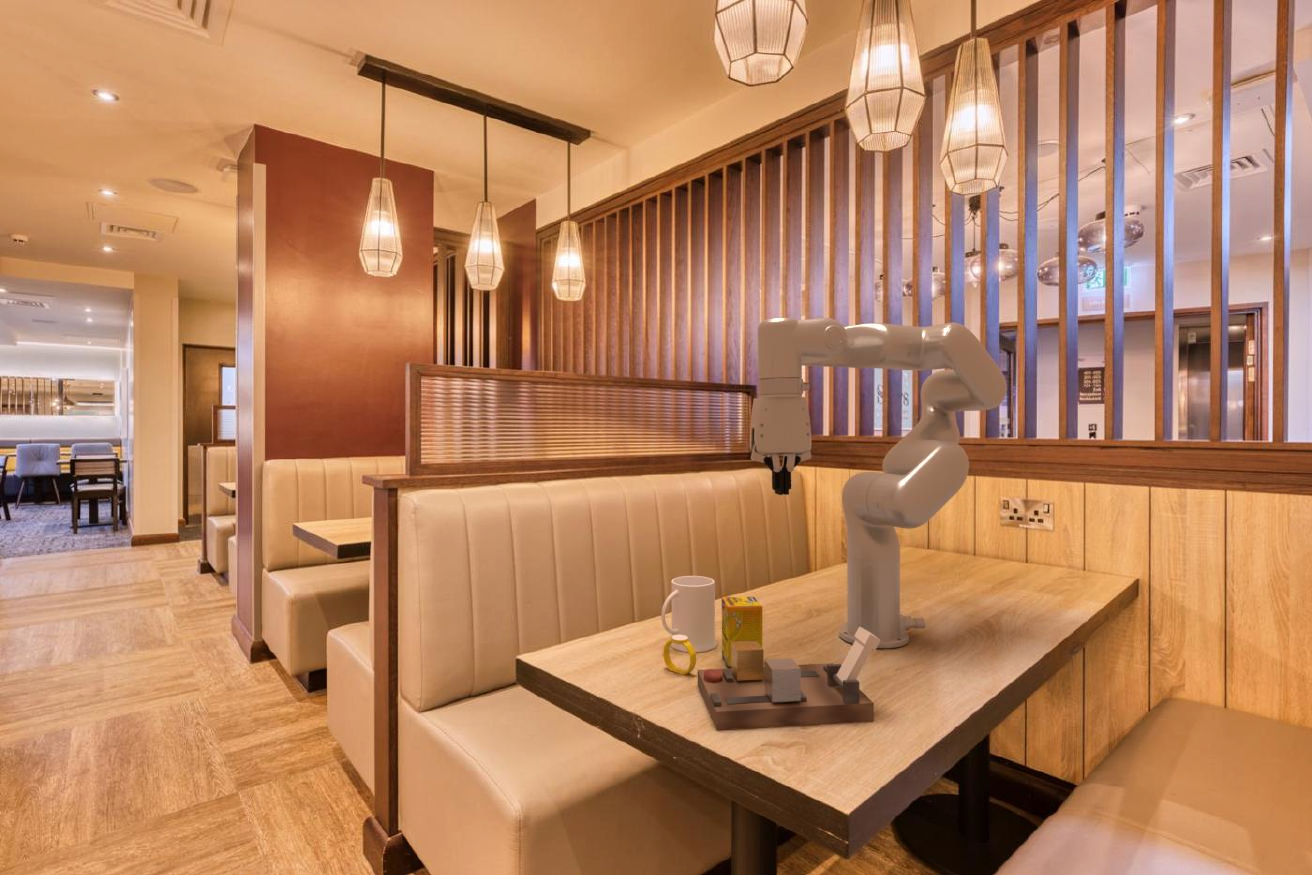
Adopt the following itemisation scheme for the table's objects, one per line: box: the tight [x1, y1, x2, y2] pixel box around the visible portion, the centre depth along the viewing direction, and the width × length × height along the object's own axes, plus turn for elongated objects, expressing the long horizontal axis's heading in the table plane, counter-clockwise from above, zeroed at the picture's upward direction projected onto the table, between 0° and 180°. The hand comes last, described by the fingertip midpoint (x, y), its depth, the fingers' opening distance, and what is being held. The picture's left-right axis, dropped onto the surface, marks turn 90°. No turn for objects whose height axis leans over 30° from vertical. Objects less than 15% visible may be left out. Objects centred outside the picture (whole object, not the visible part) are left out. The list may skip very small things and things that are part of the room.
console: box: [697, 662, 875, 731], centre depth 96 cm, size 22×15×6 cm
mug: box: [660, 575, 717, 653], centre depth 120 cm, size 12×8×12 cm
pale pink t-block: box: [833, 626, 881, 689], centre depth 93 cm, size 2×4×9 cm, turn 7°
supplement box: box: [721, 595, 763, 668], centre depth 111 cm, size 6×6×11 cm
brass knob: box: [731, 641, 764, 681], centre depth 99 cm, size 4×4×4 cm
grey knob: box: [763, 657, 801, 702], centre depth 92 cm, size 4×4×4 cm
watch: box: [662, 635, 697, 676], centre depth 108 cm, size 6×3×6 cm, turn 50°
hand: (781, 493), depth 115 cm, fingers closed
